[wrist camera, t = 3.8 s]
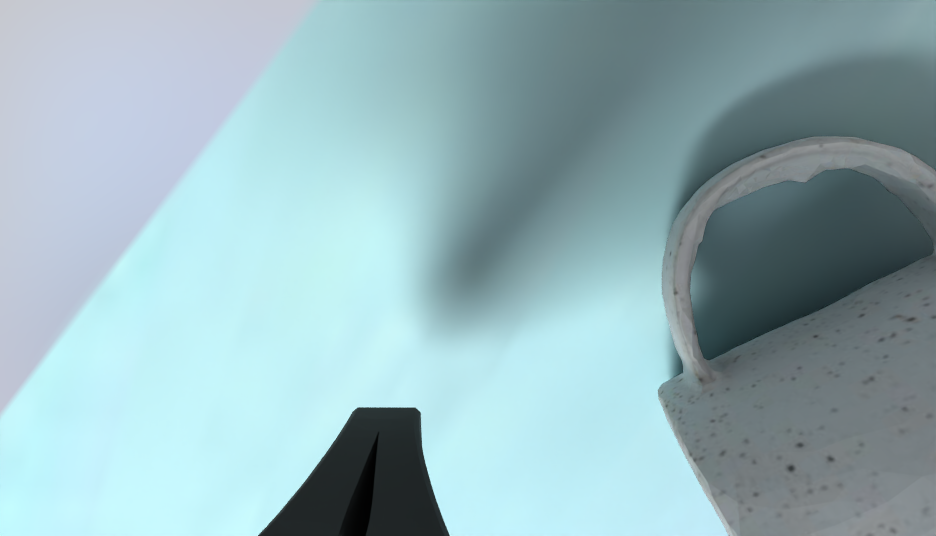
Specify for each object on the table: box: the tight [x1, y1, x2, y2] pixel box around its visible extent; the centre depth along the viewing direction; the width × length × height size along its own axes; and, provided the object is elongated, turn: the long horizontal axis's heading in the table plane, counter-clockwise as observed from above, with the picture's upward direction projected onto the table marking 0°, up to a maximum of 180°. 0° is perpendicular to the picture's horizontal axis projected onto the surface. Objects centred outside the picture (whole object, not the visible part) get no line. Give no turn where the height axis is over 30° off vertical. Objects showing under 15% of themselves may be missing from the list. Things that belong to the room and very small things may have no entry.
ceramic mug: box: [658, 136, 936, 536], centre depth 12 cm, size 11×8×8 cm
